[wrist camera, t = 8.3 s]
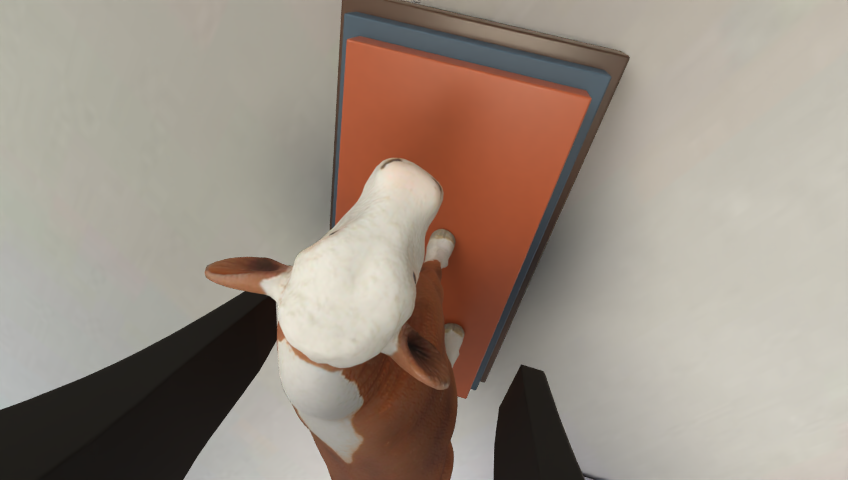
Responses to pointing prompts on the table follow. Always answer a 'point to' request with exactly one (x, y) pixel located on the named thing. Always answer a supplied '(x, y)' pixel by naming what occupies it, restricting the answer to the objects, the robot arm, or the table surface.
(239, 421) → the table surface
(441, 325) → the bull figurine
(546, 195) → the top plank
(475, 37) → the bottom plank
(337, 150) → the middle plank
